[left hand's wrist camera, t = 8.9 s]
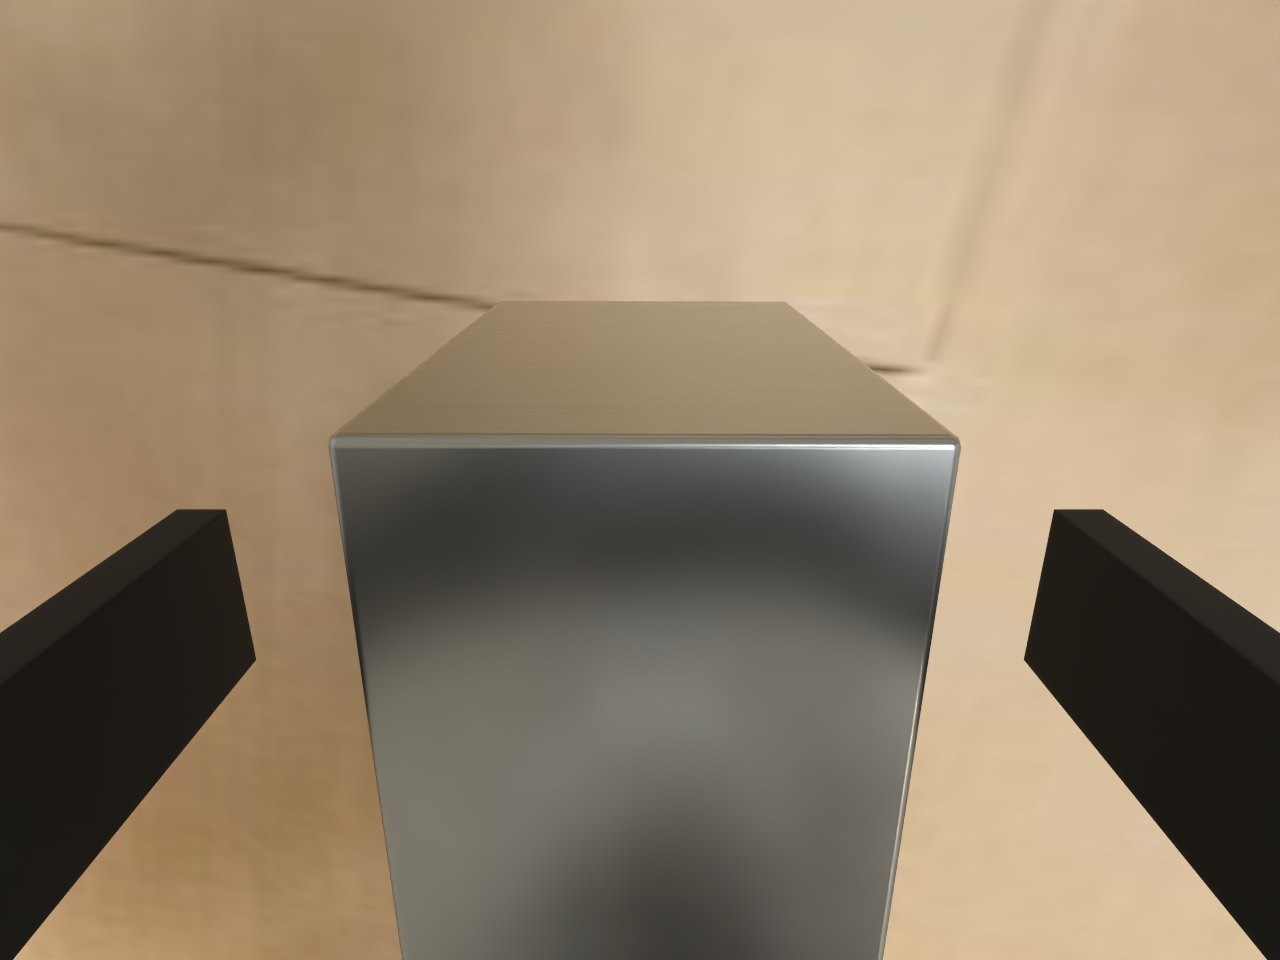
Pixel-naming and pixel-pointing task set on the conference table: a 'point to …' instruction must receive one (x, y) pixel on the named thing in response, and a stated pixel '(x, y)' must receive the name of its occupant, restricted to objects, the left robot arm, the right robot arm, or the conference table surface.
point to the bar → (643, 632)
